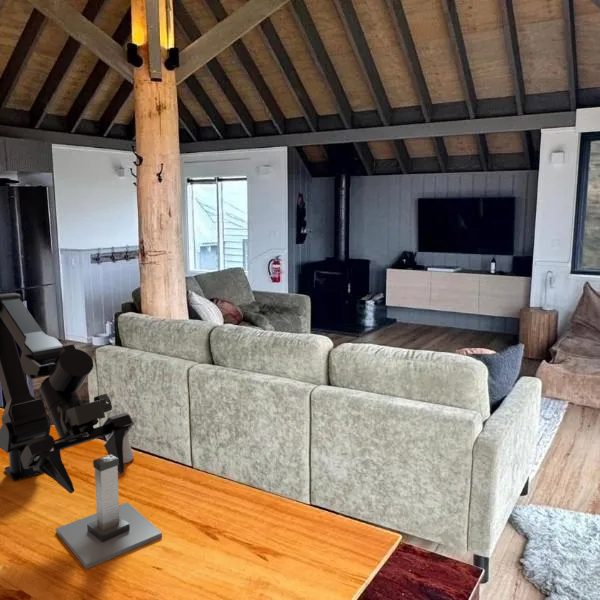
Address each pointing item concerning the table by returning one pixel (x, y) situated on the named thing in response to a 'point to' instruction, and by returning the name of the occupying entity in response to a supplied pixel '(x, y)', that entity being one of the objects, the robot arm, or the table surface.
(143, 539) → the plate
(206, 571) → the table surface
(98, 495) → the tray topped pillar
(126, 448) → the rook chess piece
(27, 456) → the robot arm
